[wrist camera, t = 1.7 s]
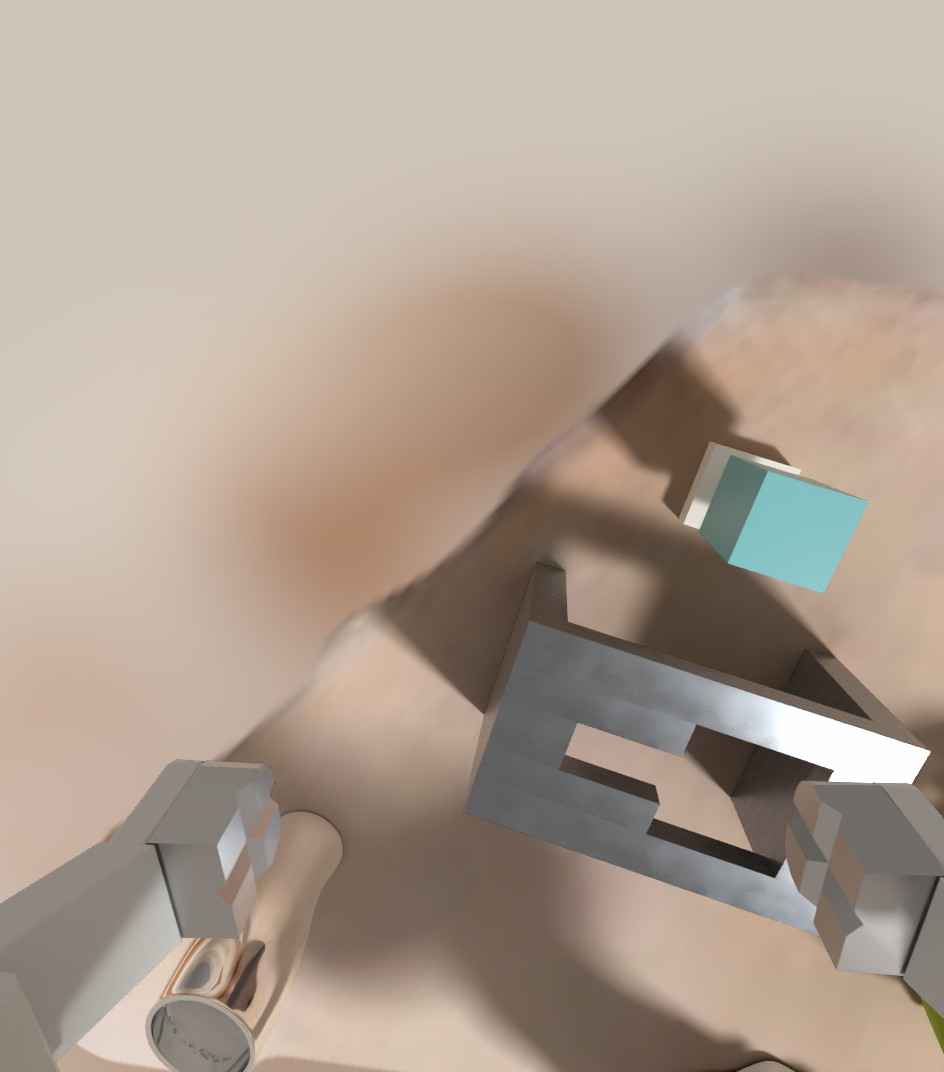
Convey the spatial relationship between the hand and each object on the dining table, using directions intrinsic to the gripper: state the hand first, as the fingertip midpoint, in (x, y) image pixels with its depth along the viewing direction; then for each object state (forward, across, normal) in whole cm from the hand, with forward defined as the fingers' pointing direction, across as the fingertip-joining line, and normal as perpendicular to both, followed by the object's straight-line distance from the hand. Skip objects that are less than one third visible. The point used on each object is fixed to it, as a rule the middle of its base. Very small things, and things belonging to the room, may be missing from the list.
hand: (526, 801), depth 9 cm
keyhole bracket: (+27, +9, -17) cm, 34 cm away
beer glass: (+27, -16, -33) cm, 46 cm away
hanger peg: (+29, +13, -4) cm, 32 cm away
